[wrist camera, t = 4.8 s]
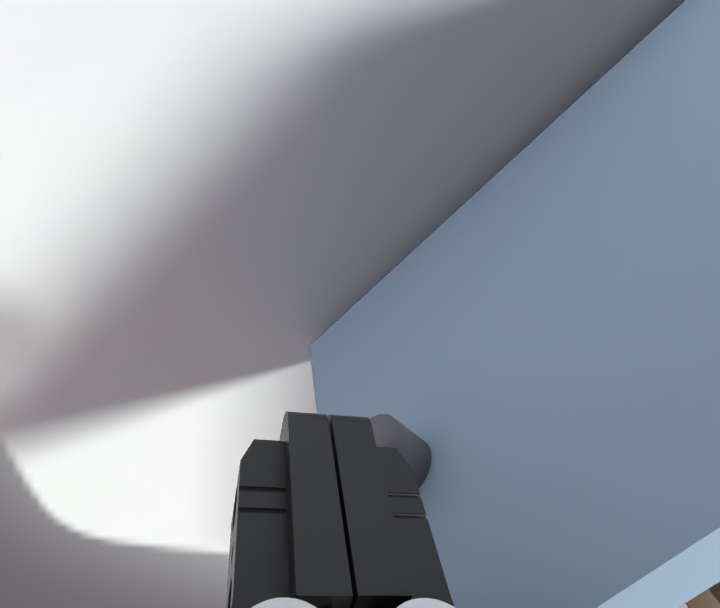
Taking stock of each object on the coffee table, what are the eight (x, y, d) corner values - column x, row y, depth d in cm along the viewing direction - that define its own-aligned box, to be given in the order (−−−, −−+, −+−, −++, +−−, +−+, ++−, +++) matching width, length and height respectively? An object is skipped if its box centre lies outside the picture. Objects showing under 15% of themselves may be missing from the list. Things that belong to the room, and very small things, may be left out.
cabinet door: (792, -151, 16) (2130, -499, 5) (821, -76, 17) (1979, -204, 6) (285, 327, 21) (308, 744, 10) (331, 363, 22) (404, 779, 11)
